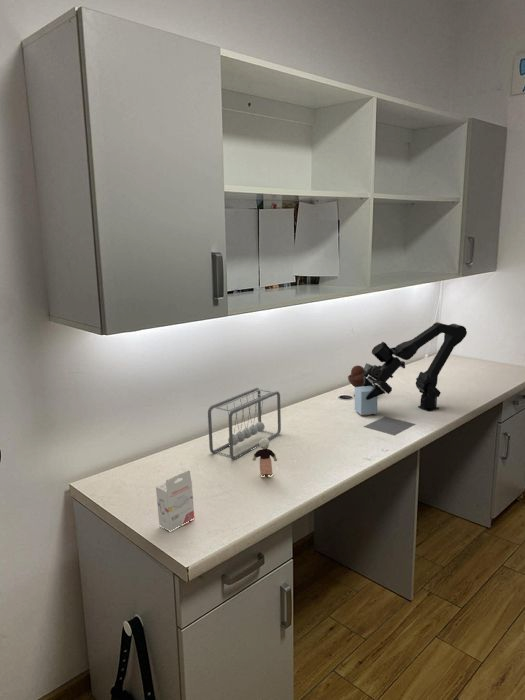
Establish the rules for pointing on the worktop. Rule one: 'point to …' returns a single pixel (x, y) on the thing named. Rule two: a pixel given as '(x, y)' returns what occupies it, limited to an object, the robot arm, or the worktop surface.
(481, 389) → the worktop surface
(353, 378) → the ice cream bowl
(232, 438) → the newton's cradle
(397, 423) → the mat
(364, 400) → the cover
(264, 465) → the grandmother figurine
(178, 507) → the ink cartridge box
